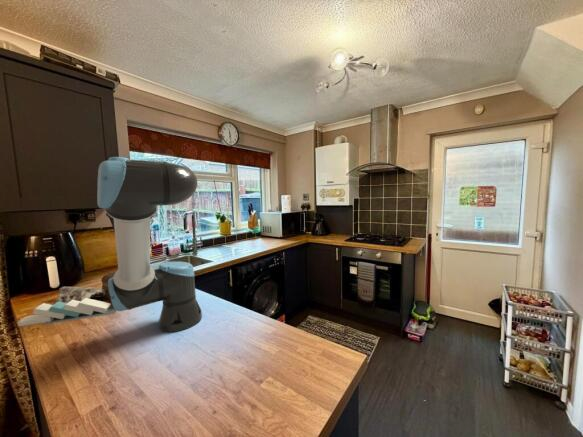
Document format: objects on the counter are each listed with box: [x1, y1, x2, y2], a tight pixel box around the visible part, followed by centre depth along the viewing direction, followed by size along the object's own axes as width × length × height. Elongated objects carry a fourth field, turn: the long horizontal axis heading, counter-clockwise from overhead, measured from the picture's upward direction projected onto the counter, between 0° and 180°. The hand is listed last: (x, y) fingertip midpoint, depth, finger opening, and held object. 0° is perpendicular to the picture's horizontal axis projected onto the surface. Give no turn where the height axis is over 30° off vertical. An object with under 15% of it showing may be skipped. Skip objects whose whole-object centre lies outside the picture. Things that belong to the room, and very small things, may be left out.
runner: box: [41, 305, 117, 326], centre depth 101 cm, size 24×9×1 cm, turn 108°
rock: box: [55, 286, 106, 303], centre depth 113 cm, size 24×9×15 cm
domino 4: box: [77, 298, 112, 313], centre depth 101 cm, size 2×5×10 cm
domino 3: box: [64, 300, 95, 315], centre depth 100 cm, size 2×5×10 cm
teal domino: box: [49, 301, 82, 317], centre depth 99 cm, size 2×5×10 cm
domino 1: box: [17, 314, 54, 327], centre depth 96 cm, size 2×5×10 cm
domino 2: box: [32, 302, 67, 319], centre depth 97 cm, size 2×5×10 cm
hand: (128, 250), depth 102 cm, fingers closed
